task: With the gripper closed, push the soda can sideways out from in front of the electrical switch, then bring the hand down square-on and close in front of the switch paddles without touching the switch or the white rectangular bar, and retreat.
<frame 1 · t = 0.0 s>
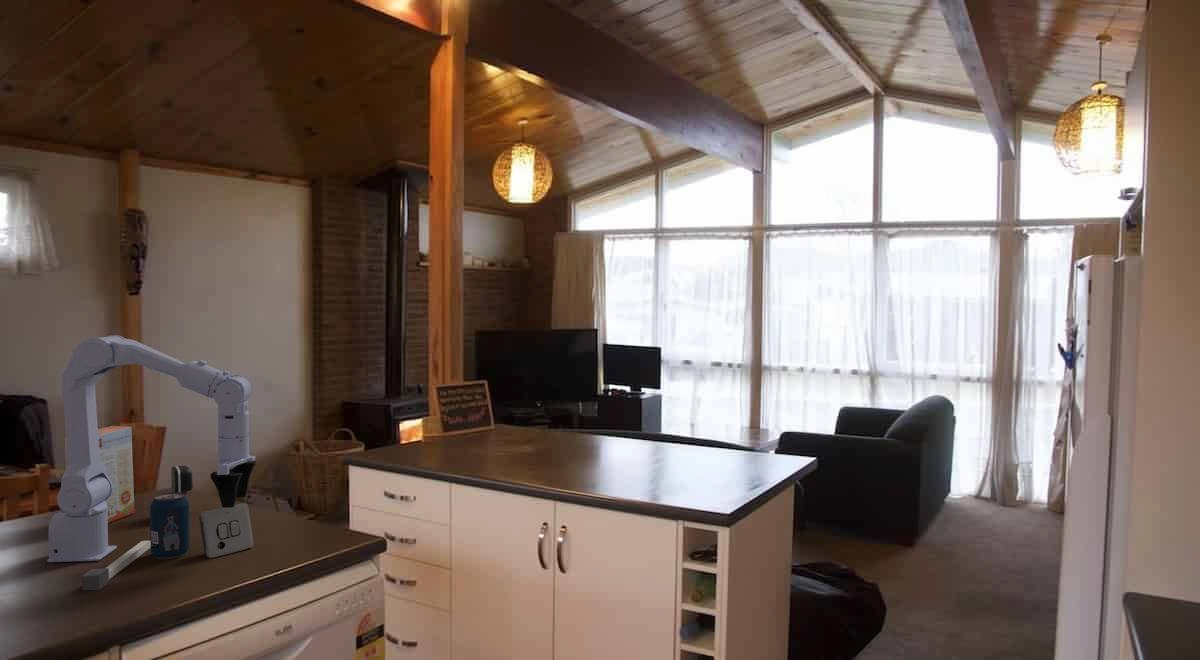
hand: (234, 501, 162), 10 cm above the counter, tool pointing down, fingers open, 7 cm apart
soda can: (170, 555, 159), on the counter
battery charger: (182, 515, 187), on the counter
electrical switch: (224, 552, 162), on the counter
cracker box: (101, 522, 181), on the counter
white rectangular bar: (124, 564, 153), on the counter
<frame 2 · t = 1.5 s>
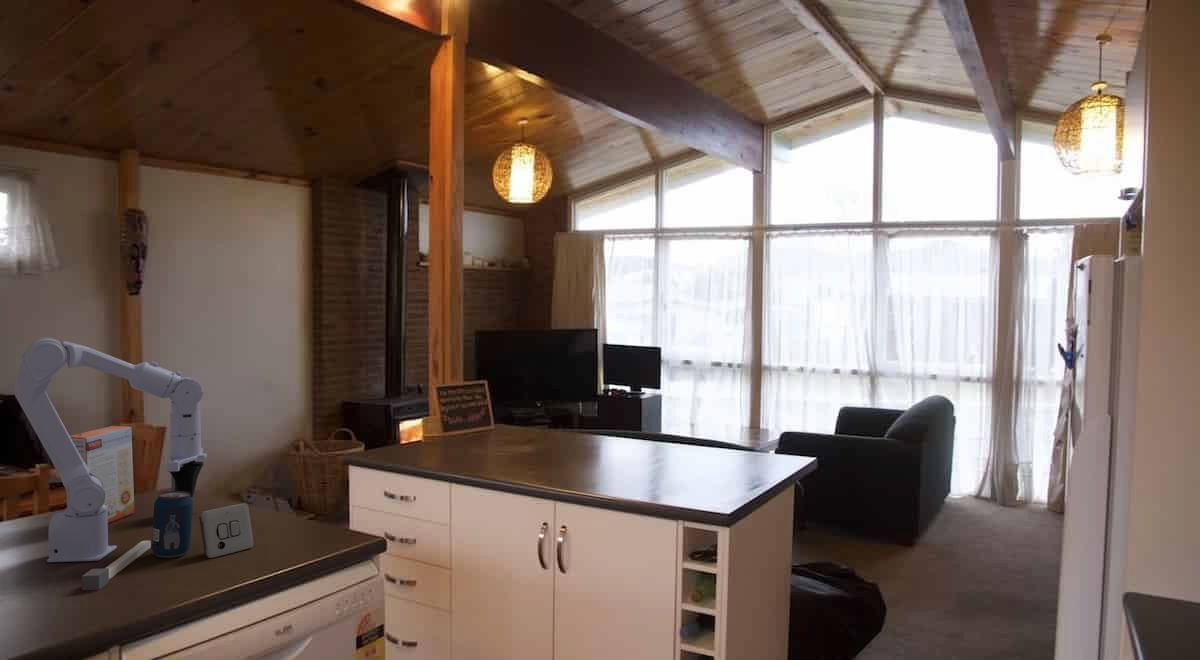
hand: (186, 497, 168), 9 cm above the counter, tool pointing down, fingers closed
nothing on the counter moved.
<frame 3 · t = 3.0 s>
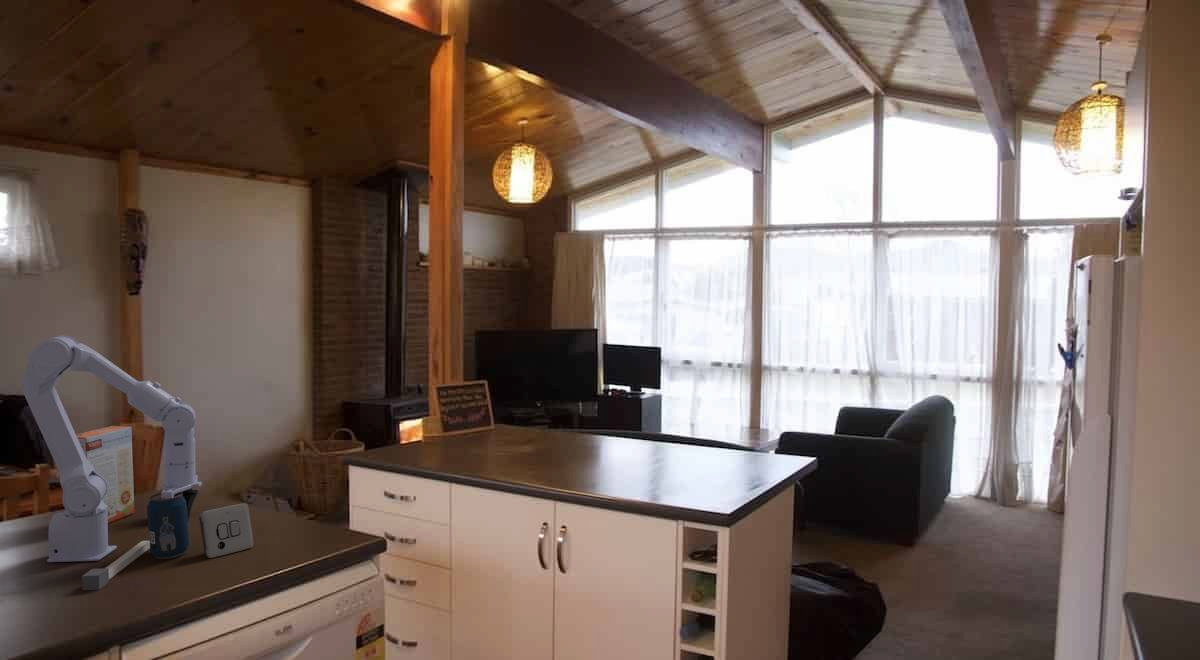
hand: (180, 526, 165), 4 cm above the counter, tool pointing down, fingers closed
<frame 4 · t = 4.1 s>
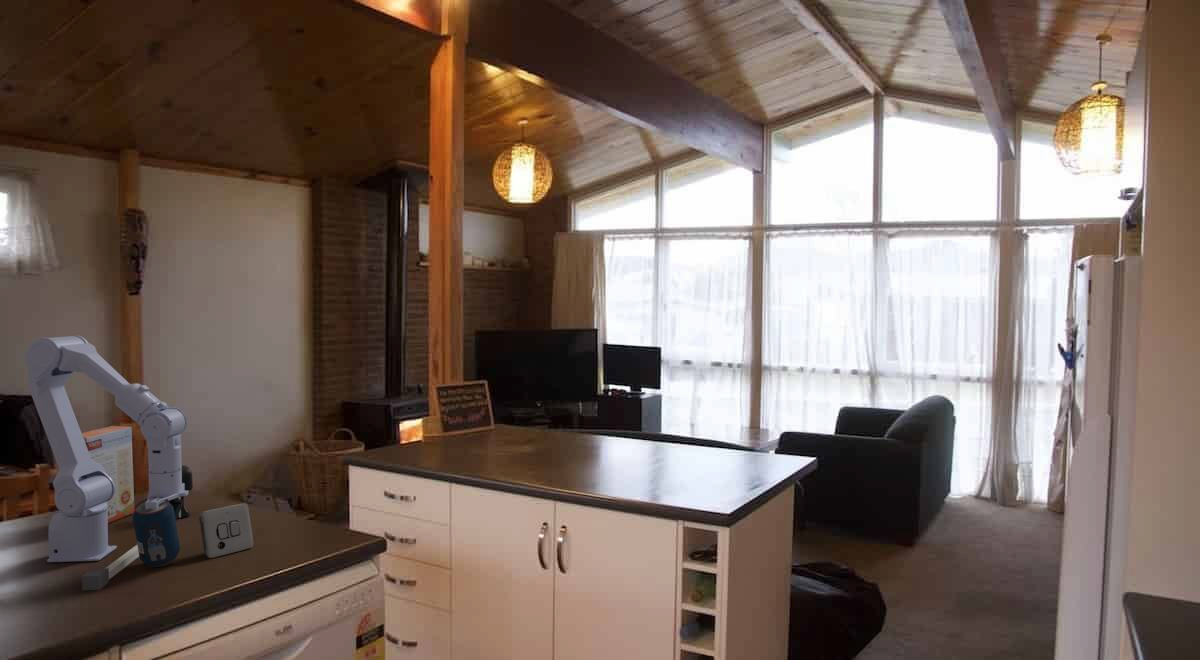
hand: (166, 538, 157), 4 cm above the counter, tool pointing down, fingers closed, pressing on soda can
soda can: (161, 559, 154), point 1 cm above the counter, touching gripper
everything else where it was.
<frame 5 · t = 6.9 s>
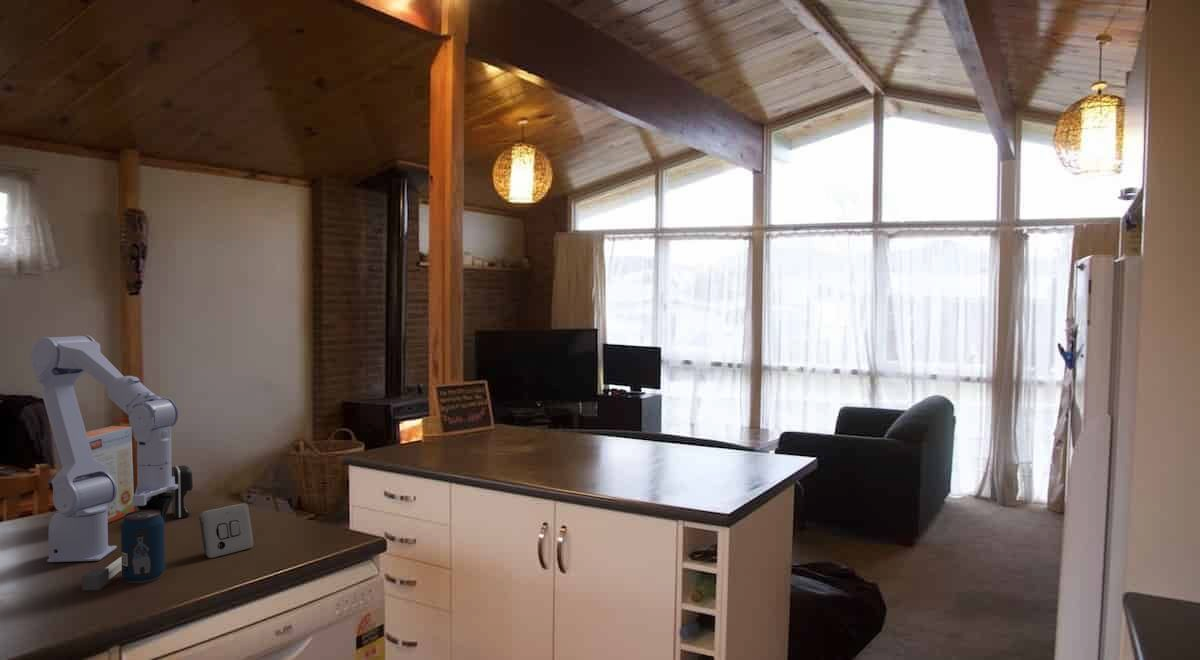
hand: (155, 532, 152), 7 cm above the counter, tool pointing down, fingers closed
soda can: (143, 578, 147), on the counter
everything else where it was.
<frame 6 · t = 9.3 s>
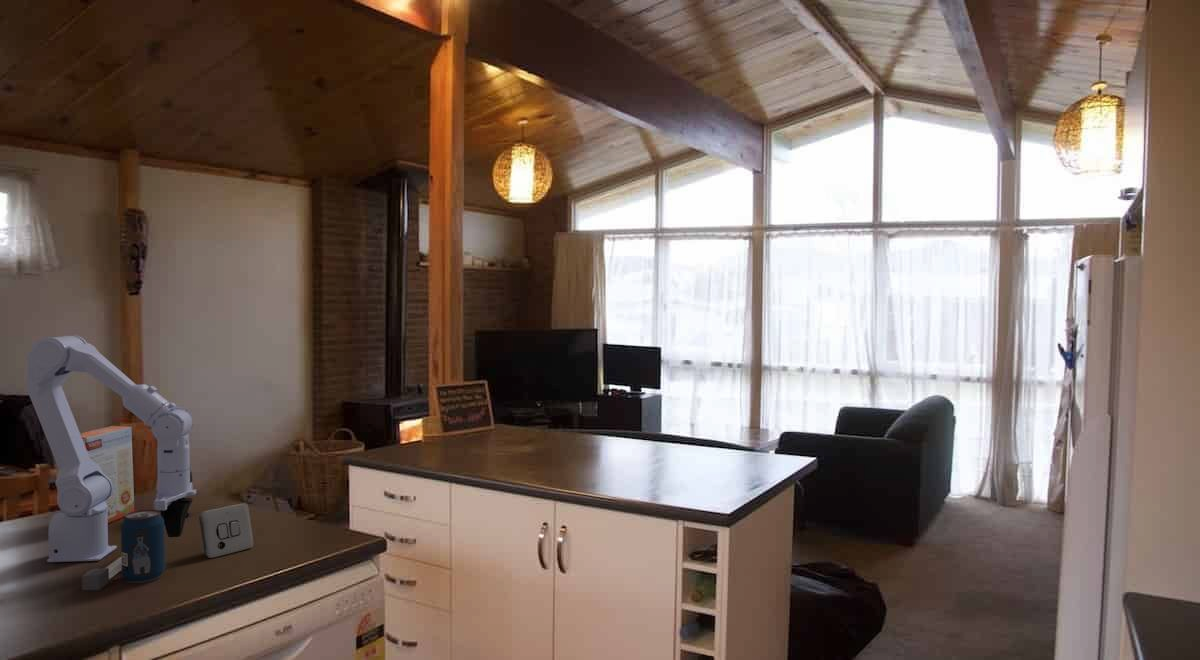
hand: (174, 536, 160), 3 cm above the counter, tool pointing down, fingers closed
nothing on the counter moved.
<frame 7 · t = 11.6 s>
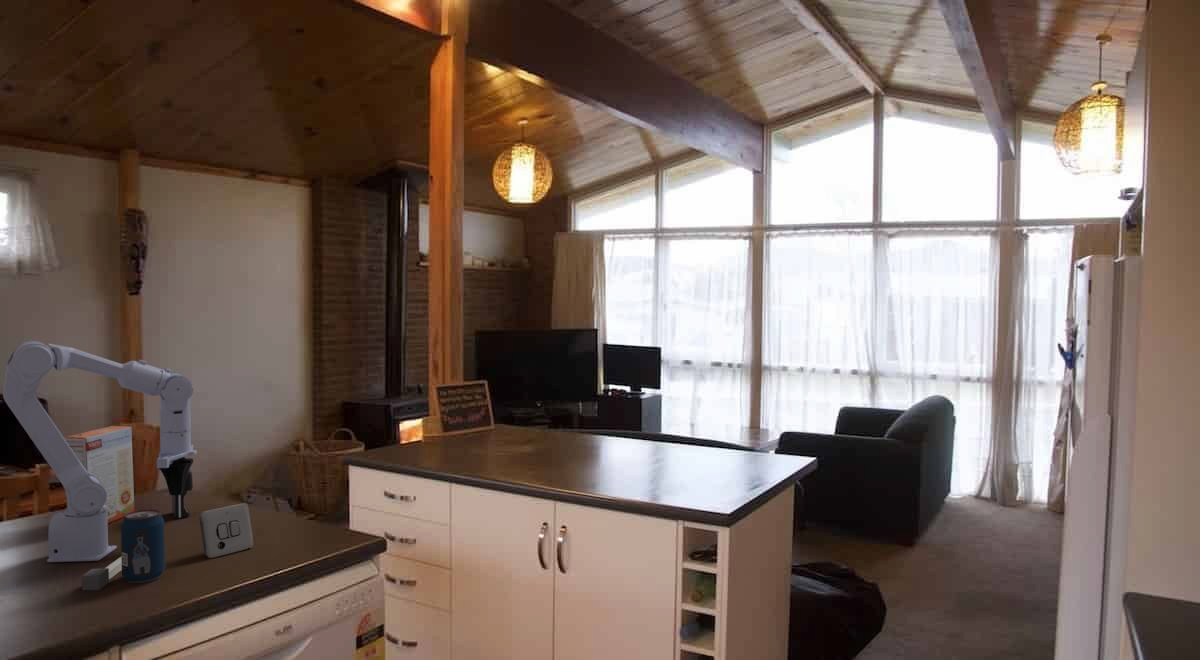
hand: (176, 494, 167), 10 cm above the counter, tool pointing down, fingers closed
nothing on the counter moved.
at the end: soda can moved 12.8 cm from its start; soda can tilted 0°; electrical switch moved 0.3 cm from its start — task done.
